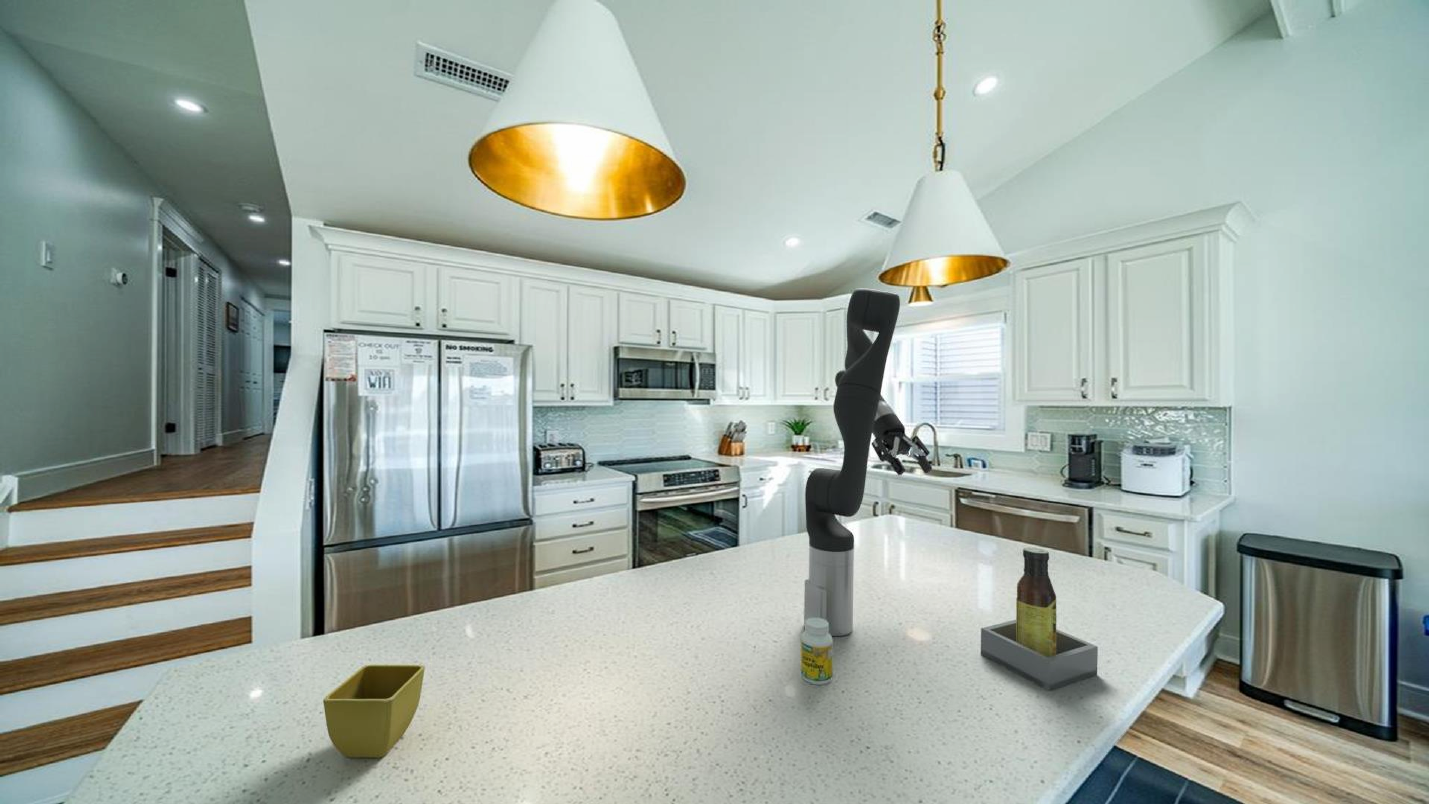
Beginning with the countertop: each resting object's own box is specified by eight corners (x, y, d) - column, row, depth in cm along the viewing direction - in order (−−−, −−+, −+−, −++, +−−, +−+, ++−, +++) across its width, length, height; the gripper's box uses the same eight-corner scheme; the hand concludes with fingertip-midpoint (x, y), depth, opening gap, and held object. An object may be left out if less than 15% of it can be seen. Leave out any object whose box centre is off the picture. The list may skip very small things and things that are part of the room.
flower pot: (426, 725, 74) (426, 663, 74) (390, 768, 66) (390, 699, 66) (364, 725, 74) (365, 664, 74) (320, 769, 65) (320, 700, 65)
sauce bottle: (1062, 669, 90) (1065, 557, 89) (1023, 665, 91) (1025, 554, 91) (1046, 651, 96) (1048, 546, 96) (1010, 647, 97) (1012, 544, 97)
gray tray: (1049, 691, 85) (1049, 661, 85) (980, 654, 97) (981, 628, 97) (1097, 674, 90) (1097, 646, 90) (1026, 641, 102) (1026, 617, 102)
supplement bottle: (836, 674, 89) (837, 619, 89) (827, 689, 85) (827, 632, 85) (806, 666, 92) (807, 613, 92) (796, 680, 87) (797, 624, 87)
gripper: (868, 412, 128) (901, 464, 118) (911, 412, 134) (946, 461, 123) (854, 432, 133) (884, 483, 122) (896, 431, 139) (929, 479, 128)
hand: (915, 472), depth 123 cm, fingers open, 8 cm apart
